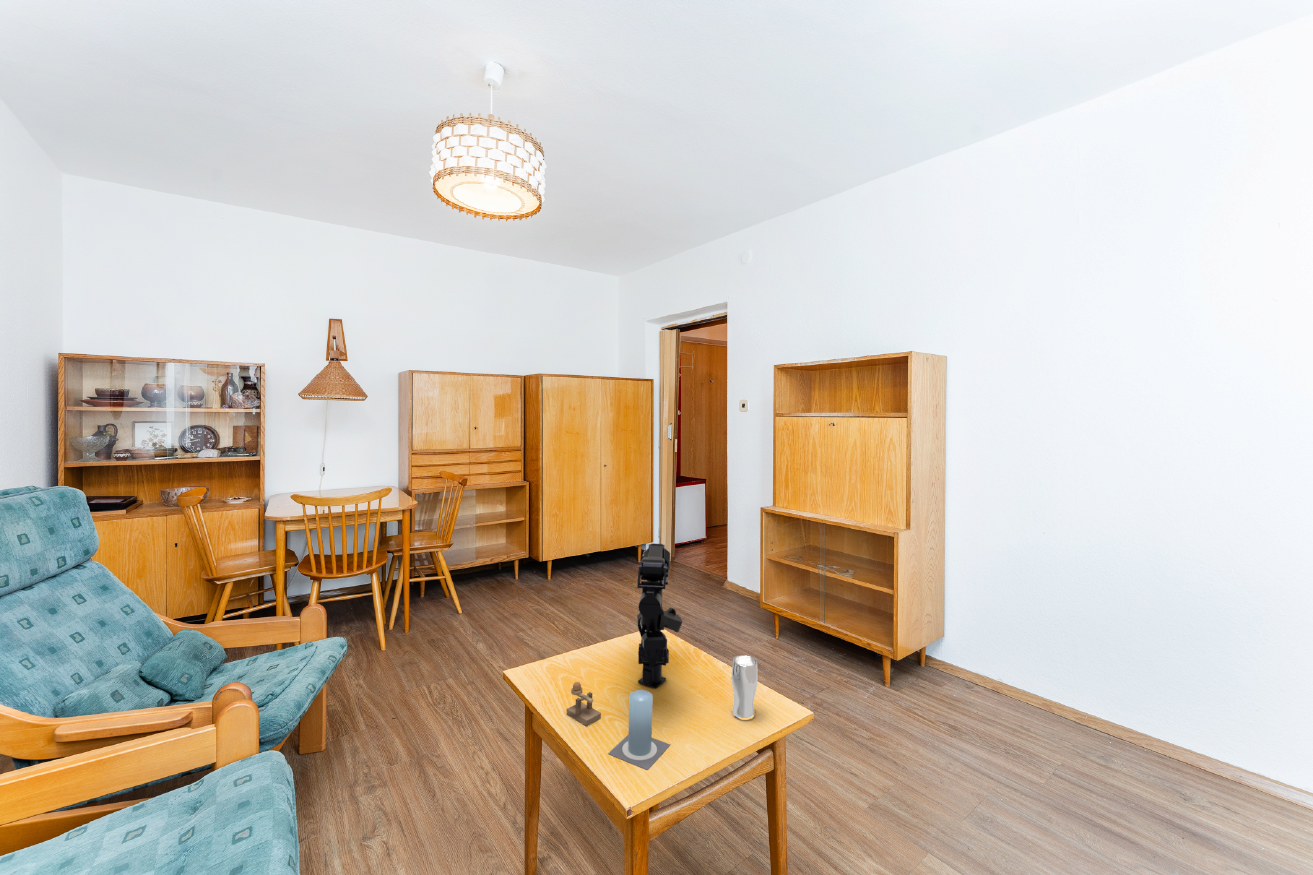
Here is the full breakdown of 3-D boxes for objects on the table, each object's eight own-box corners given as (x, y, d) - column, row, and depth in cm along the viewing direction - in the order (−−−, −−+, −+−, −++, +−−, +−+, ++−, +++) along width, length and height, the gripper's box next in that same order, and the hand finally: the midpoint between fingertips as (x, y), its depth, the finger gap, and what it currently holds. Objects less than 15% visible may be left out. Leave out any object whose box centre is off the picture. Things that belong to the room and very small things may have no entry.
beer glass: (728, 707, 149) (729, 654, 148) (752, 707, 149) (754, 654, 149) (733, 722, 142) (735, 666, 141) (759, 721, 142) (761, 666, 142)
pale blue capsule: (635, 738, 133) (637, 687, 132) (655, 746, 130) (656, 694, 130) (623, 750, 128) (624, 697, 128) (643, 758, 125) (645, 704, 125)
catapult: (565, 713, 144) (566, 683, 143) (579, 706, 147) (580, 677, 147) (586, 726, 138) (587, 695, 138) (600, 718, 142) (601, 688, 141)
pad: (632, 730, 137) (632, 730, 137) (670, 744, 131) (670, 744, 131) (607, 753, 127) (607, 753, 127) (647, 770, 122) (647, 769, 122)
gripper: (686, 616, 139) (685, 674, 140) (674, 592, 158) (673, 644, 158) (644, 617, 138) (643, 676, 138) (637, 593, 156) (636, 645, 157)
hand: (650, 659), depth 148 cm, fingers open, 9 cm apart
